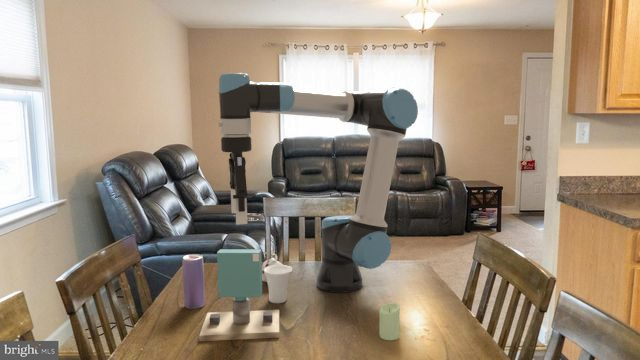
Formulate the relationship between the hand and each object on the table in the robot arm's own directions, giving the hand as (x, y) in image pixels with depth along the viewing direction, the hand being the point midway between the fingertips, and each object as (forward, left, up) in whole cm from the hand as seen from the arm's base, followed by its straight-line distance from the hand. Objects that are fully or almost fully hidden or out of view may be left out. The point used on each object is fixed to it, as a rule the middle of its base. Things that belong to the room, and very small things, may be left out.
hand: (239, 218), depth 125 cm
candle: (-38, +9, -30) cm, 49 cm away
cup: (-10, -18, -30) cm, 36 cm away
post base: (0, 0, -30) cm, 30 cm away
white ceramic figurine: (-8, -34, -30) cm, 46 cm away
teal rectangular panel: (0, 0, -22) cm, 22 cm away
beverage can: (+15, -16, -30) cm, 37 cm away
